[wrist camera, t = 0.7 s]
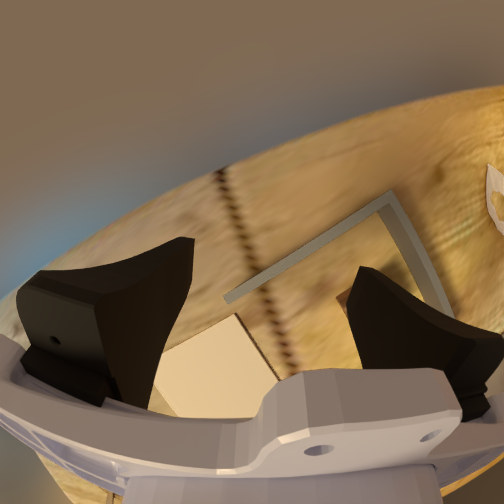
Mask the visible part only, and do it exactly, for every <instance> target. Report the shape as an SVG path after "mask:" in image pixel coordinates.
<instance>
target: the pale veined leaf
mask: <svg viewBox="0 0 504 504" xmlns="http://www.w3.org/2000/svg"><path fill="white" fill-rule="evenodd" d="M487 165H488V171H487V177H486V199H487V208H488V212H489V214H490V216H491V218H492V219H493V221H494V222H495V225H496V228H497V229H498V230H499V231H500V232H501V233H502V234H503V235H504V221H503V222H502V221H500V220H499V219H498V217H497V215H496V209H495V207H494V206H493V204H492V203H491V195H492V192H493V189H494V190H495V191H496V192H501V193H502V194H503V196H504V176H503V174H502V173H500V172H499V171H498V170H496V169H495V168H493V167H492V166H491V165H490V164H489V163H488V164H487ZM492 187H493V188H492Z"/></svg>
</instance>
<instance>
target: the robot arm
mask: <svg viewBox="0 0 504 504" xmlns="http://www.w3.org/2000/svg"><path fill="white" fill-rule="evenodd" d="M194 242H195V239H193V238H187V237H178V238H175V239H173V240H171V241H168V242H166V243H164V244H162V245H160V246H158V247H156V248H153V249H151V250H149V251H146V252H144V253H141V254H139V255H137V256H134V257H131V258H128V259H125V260H122V261H119V262H115V263H111V264H106V265H101V266H97V267H91V268H84V269H75V270H40V271H39V272H37V273H36V274H35V275H34V276H33V277H32V278H31V279H30V280H28V281H27V282H26V283H25V284H24V285H23V286H22V287H21V288H20V289H19V290H18V292H17V296H16V304H17V310H18V314H19V317H20V319H21V322H22V324H23V327H24V329H25V332H26V334H27V336H28V339H29V341H30V343H31V346H30V347H29V348H28V350H27V351H26V350H25V349H24V348H23V347H22V346H21V345H20V344H18V343H17V342H15V341H13V340H11V339H9V338H8V337H6V336H4V335H3V334H0V426H2V427H3V428H4V429H5V430H7V431H8V432H9V433H11V434H12V435H13V436H15V437H17V438H18V439H19V440H20V441H22V442H23V443H25V444H26V445H28V446H29V447H30V448H32V449H33V450H35V451H36V452H38V453H39V454H41V455H43V456H44V457H46V458H47V459H49V460H50V461H52V462H54V463H55V464H57V465H59V466H61V467H62V468H64V469H66V470H68V471H69V472H71V473H73V474H75V475H77V476H79V477H81V478H83V479H85V480H87V481H89V482H91V483H93V484H95V485H97V486H99V487H101V488H104V489H106V490H108V491H110V492H113V493H115V494H118V495H120V496H123V500H122V503H121V504H443V500H442V496H441V492H440V488H443V487H445V486H447V485H449V484H451V483H453V482H455V481H457V480H459V479H462V478H464V477H465V476H467V475H469V474H471V473H473V472H475V471H477V470H479V469H481V468H483V467H484V466H486V465H488V464H489V463H490V462H492V461H493V460H494V459H496V458H497V457H498V456H499V455H501V454H502V453H503V452H504V391H503V392H500V393H497V394H494V395H492V396H490V397H489V398H486V396H485V395H484V393H486V392H487V391H488V388H487V386H486V384H485V383H486V382H487V380H488V379H489V378H490V377H491V375H492V374H493V373H494V372H495V370H496V369H497V368H498V366H499V365H500V363H501V362H502V360H503V358H504V338H503V337H502V336H501V335H500V334H498V333H494V332H491V331H487V330H483V329H480V328H477V327H474V326H471V325H468V324H465V323H463V322H461V321H458V320H456V319H454V318H452V317H450V316H447V315H445V314H443V313H441V312H439V311H438V310H436V309H434V308H432V307H431V306H429V305H427V304H426V303H424V302H422V301H421V300H419V299H418V298H416V297H415V296H413V295H412V294H411V293H409V292H408V291H406V290H405V289H403V288H402V287H401V286H399V285H398V284H397V283H395V282H394V281H392V280H391V279H390V278H388V277H387V276H385V275H384V274H382V273H381V272H379V271H377V270H375V269H373V268H370V267H364V266H360V267H359V270H358V273H357V275H356V278H355V281H354V283H353V286H352V289H351V291H350V294H349V296H348V299H347V302H346V309H347V316H348V321H349V325H350V328H351V331H352V334H353V337H354V340H355V343H356V347H357V350H358V353H359V356H360V359H361V363H362V367H363V369H339V368H327V369H318V370H308V371H302V372H300V373H298V374H295V375H293V376H291V377H288V378H286V379H284V380H281V381H279V382H277V383H276V384H275V385H274V386H273V387H272V388H271V390H270V391H269V392H268V393H267V394H266V395H265V396H264V397H263V400H262V403H261V405H260V408H259V411H258V413H257V414H256V416H255V417H248V418H186V417H172V416H168V415H164V414H160V413H156V412H153V411H149V410H147V409H148V404H149V400H150V395H151V391H152V387H153V383H154V380H155V376H156V372H157V369H158V365H159V362H160V359H161V356H162V352H163V349H164V346H165V343H166V341H167V338H168V336H169V334H170V332H171V330H172V327H173V325H174V323H175V321H176V319H177V317H178V315H179V313H180V311H181V309H182V307H183V305H184V302H185V300H186V298H187V295H188V292H189V289H190V285H191V282H192V272H193V256H194Z"/></svg>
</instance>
